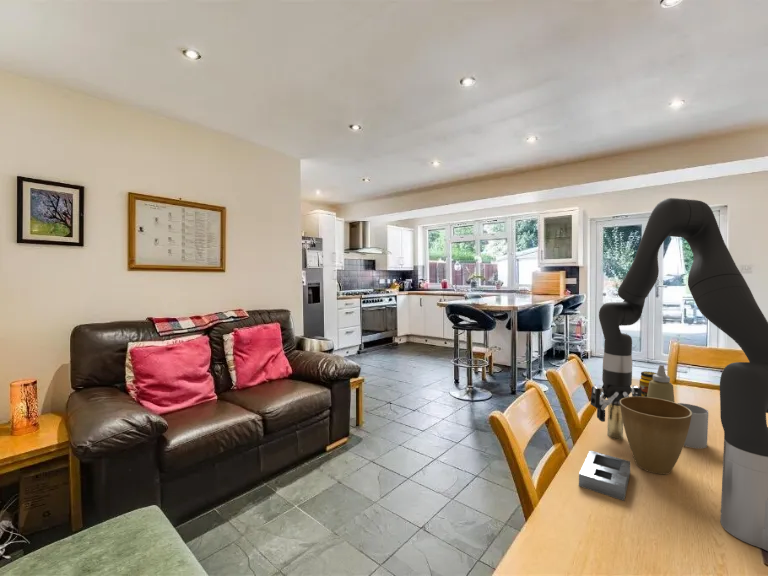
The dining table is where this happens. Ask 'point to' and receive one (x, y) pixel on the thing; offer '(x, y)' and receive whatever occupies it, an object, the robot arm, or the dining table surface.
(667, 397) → the squeeze bottle
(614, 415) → the spice shaker
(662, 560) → the dining table surface
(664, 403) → the plant pot
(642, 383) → the condiment
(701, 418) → the cup
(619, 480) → the steel socket block
